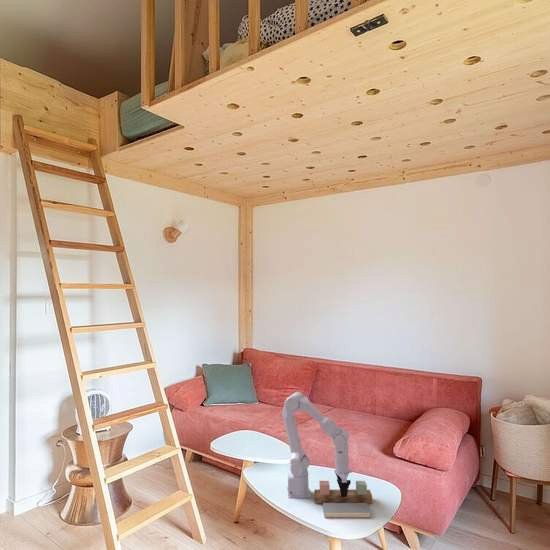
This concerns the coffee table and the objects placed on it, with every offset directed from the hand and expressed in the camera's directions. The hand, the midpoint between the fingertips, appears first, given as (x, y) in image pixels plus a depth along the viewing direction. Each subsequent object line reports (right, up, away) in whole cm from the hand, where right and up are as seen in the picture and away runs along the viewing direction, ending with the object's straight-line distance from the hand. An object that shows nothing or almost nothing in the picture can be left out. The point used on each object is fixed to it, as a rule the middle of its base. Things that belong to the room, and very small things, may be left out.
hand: (342, 492), depth 172 cm
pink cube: (-8, 0, 0) cm, 8 cm away
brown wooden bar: (0, -4, 0) cm, 4 cm away
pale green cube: (+8, 0, 0) cm, 8 cm away
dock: (0, -3, -9) cm, 10 cm away
